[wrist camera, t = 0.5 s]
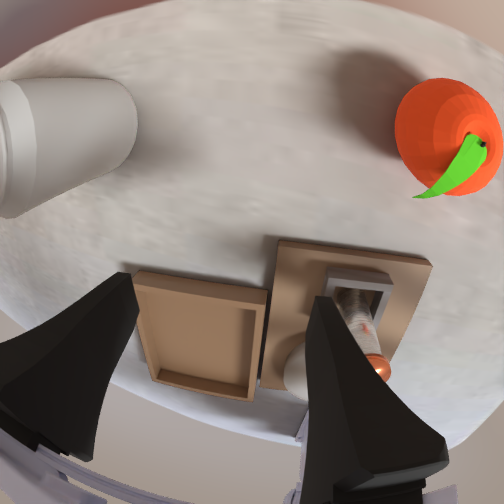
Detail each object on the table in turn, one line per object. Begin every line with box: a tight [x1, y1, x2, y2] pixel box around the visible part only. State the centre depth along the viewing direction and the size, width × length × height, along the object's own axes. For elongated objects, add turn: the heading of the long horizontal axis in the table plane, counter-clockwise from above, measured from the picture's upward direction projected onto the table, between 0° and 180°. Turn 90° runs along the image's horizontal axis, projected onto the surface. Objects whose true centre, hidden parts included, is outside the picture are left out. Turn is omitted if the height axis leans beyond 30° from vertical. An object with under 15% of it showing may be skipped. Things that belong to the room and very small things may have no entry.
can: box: [0, 78, 138, 219], centre depth 13 cm, size 8×8×12 cm
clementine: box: [395, 78, 503, 198], centre depth 12 cm, size 8×7×7 cm
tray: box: [132, 270, 268, 402], centre depth 25 cm, size 13×11×2 cm
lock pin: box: [337, 287, 391, 382], centre depth 17 cm, size 3×3×8 cm
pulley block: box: [259, 240, 433, 401], centre depth 22 cm, size 16×12×3 cm
